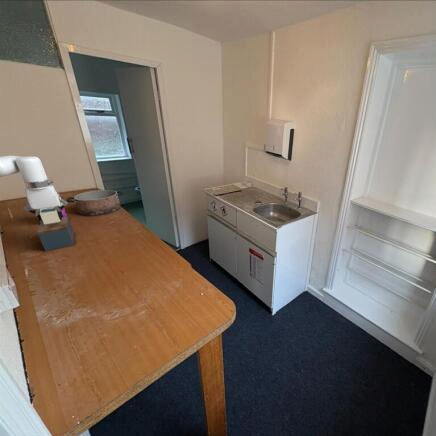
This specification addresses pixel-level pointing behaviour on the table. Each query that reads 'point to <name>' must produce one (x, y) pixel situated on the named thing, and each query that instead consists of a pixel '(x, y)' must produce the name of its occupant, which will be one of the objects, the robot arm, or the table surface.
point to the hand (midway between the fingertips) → (52, 219)
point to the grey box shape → (56, 234)
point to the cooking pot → (97, 202)
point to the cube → (49, 216)
